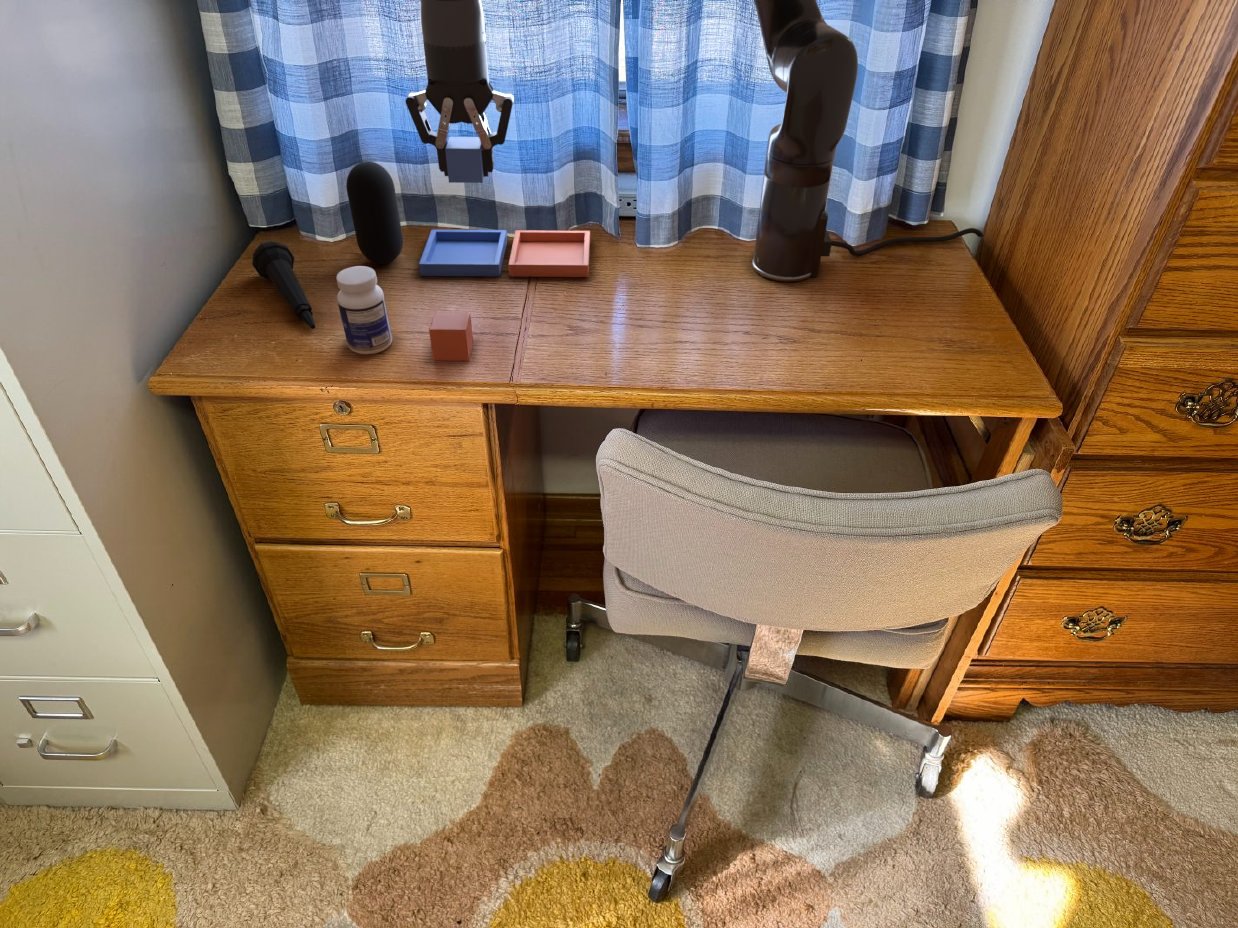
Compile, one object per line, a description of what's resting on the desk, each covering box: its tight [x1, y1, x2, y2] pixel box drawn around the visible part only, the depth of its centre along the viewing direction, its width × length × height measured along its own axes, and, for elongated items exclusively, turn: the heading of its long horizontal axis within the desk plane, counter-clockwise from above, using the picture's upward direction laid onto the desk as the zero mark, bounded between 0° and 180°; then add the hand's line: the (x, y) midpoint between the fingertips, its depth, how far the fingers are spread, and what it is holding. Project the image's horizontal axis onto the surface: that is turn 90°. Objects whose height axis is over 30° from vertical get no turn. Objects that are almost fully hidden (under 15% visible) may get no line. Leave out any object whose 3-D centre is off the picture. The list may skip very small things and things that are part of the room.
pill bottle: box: [336, 265, 393, 355], centre depth 107 cm, size 6×6×10 cm
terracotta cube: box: [428, 310, 474, 361], centre depth 108 cm, size 4×4×4 cm
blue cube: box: [445, 136, 485, 184], centre depth 113 cm, size 4×4×4 cm
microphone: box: [251, 240, 316, 330], centre depth 118 cm, size 6×6×20 cm
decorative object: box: [345, 161, 404, 265], centre depth 123 cm, size 7×7×15 cm
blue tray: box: [418, 229, 508, 277], centre depth 128 cm, size 12×12×2 cm
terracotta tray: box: [507, 229, 591, 278], centre depth 128 cm, size 12×12×2 cm
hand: (467, 173), depth 114 cm, fingers closed on blue cube, 4 cm apart
